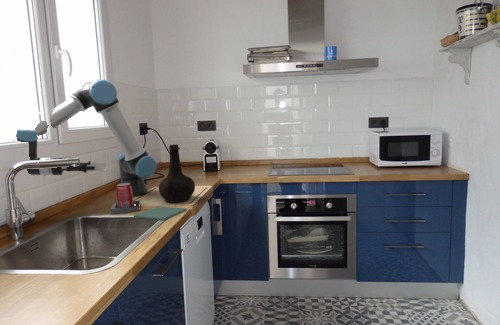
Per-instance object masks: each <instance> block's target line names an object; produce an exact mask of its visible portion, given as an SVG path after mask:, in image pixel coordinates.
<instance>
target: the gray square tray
mask: <svg viewBox="0 0 500 325" xmlns="http://www.w3.org/2000/svg"><path fill="white" fill-rule="evenodd" d="M133 202H134V204H136V206H129V207H121V208H118V203H117V202H114V203H112V206H111V208H110V214H111V215H115V214H123V213H132V212H139V211H140V209H139V205H140V206H141V204H140V203H141V202H140V200H133Z"/></svg>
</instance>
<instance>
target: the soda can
mask: <svg viewBox="0 0 500 325" xmlns="http://www.w3.org/2000/svg"><path fill="white" fill-rule="evenodd" d="M115 194H116V203H118V208H121V207H129V206H134V202H133V201H134V196H133V192H132V187H131V185H130V183H121V182H120V183H118V184H116V187H115Z"/></svg>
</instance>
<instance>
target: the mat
mask: <svg viewBox="0 0 500 325" xmlns="http://www.w3.org/2000/svg"><path fill="white" fill-rule="evenodd" d="M187 210H188V209H187V208H185V207H173V206H171V207H170V206H158V205H157V206H155V207H153V208H150V209H147V210H145V211H143V212H142V211H141V212H139V213H137V214H134V215H133V219H134V218H135V219H145V220H155V221H166V220H168V219H170V218H173V217H174V216H177V215H180V214H181V213H184V212H186V211H187Z"/></svg>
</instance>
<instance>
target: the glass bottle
mask: <svg viewBox="0 0 500 325" xmlns="http://www.w3.org/2000/svg"><path fill="white" fill-rule="evenodd" d="M168 147H169V148H168V150H169V169H168V174H167V175H166V177H165V178H163V179H162V180H161V181H160V182H159V185H158V193H159V195H160V196H161V198H162V199H163V200H164V201H166V202H169V203H181V202H185V201H187V200H189V199H190V198H191V197H192V196H193V195H194V193H195V189H196V184H195V181H194V180H193V178H191V177H190V176H187V175H185V174H184V173H183V170H182V166H181V160H180V153H179V152H180V151H179V150H180V147H179V144H178V143H177V144H169V146H168ZM180 201H181V202H180Z"/></svg>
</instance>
